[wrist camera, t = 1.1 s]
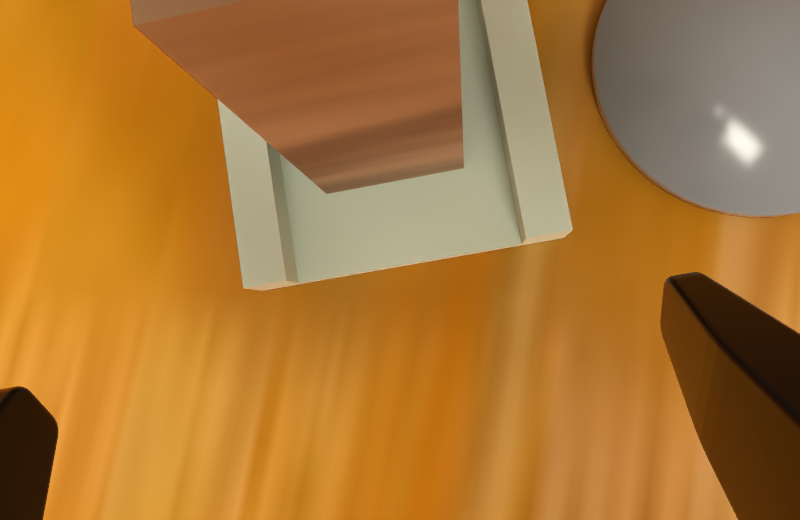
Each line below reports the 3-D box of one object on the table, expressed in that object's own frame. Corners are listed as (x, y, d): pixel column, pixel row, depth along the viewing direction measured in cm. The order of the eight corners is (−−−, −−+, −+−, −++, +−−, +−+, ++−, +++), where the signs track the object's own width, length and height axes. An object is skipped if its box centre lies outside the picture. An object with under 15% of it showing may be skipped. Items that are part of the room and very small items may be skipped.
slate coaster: (999, 73, 21) (1015, 65, 20) (741, 283, 21) (749, 282, 20) (763, -148, 22) (772, -160, 22) (527, 51, 23) (528, 43, 22)
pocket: (563, 238, 22) (573, 229, 20) (263, 290, 23) (243, 287, 21) (506, -52, 23) (510, -87, 21) (223, 10, 24) (201, -17, 22)
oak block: (464, 168, 22) (456, -47, 9) (326, 194, 22) (133, 25, 9) (440, 34, 22) (401, -346, 10) (306, 63, 23) (98, -265, 10)
